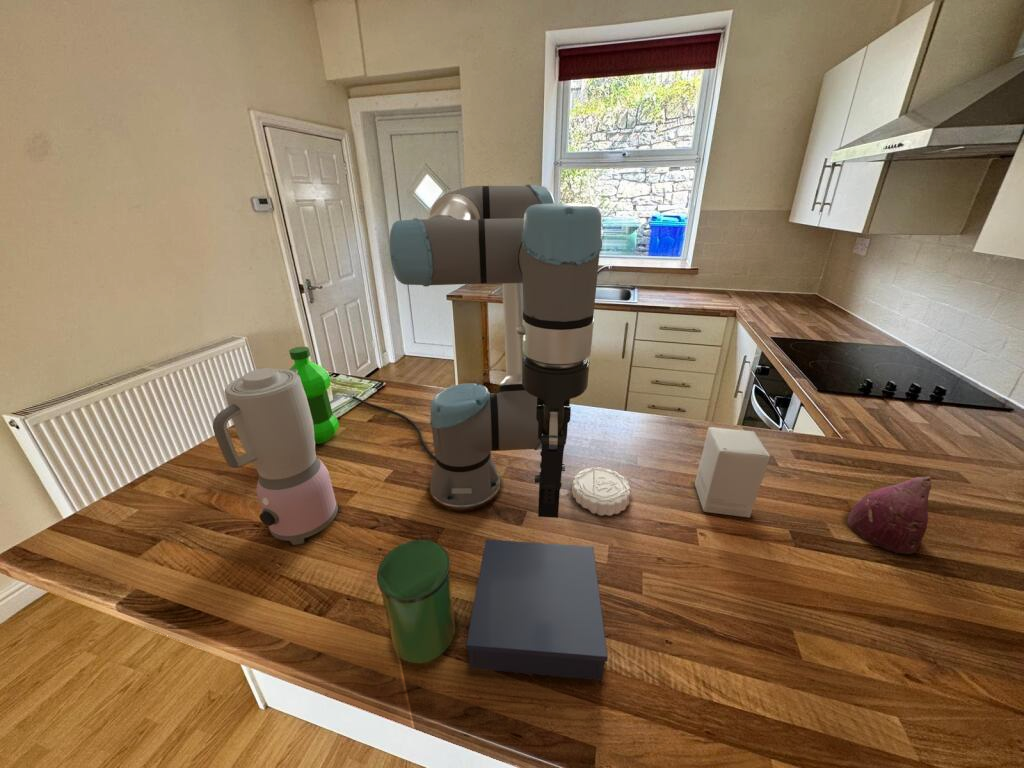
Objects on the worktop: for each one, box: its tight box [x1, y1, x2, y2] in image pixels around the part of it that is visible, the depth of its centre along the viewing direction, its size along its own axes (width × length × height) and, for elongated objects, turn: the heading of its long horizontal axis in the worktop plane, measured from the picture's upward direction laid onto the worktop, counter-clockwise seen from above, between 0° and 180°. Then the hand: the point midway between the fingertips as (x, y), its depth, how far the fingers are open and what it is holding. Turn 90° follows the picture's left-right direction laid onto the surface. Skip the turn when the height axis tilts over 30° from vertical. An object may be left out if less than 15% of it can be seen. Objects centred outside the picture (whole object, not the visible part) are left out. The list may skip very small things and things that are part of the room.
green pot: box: [376, 539, 456, 664], centre depth 56 cm, size 9×9×14 cm
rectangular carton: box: [694, 426, 771, 518], centre depth 80 cm, size 9×9×15 cm
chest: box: [467, 649, 606, 681], centre depth 60 cm, size 17×18×6 cm
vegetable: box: [847, 476, 932, 555], centre depth 73 cm, size 10×10×15 cm
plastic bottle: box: [288, 345, 340, 445], centre depth 100 cm, size 10×10×25 cm
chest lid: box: [465, 539, 608, 662], centre depth 58 cm, size 18×18×1 cm
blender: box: [212, 367, 339, 546], centre depth 71 cm, size 16×12×32 cm
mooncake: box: [571, 466, 632, 517], centre depth 84 cm, size 12×12×4 cm
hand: (548, 513), depth 55 cm, fingers closed
